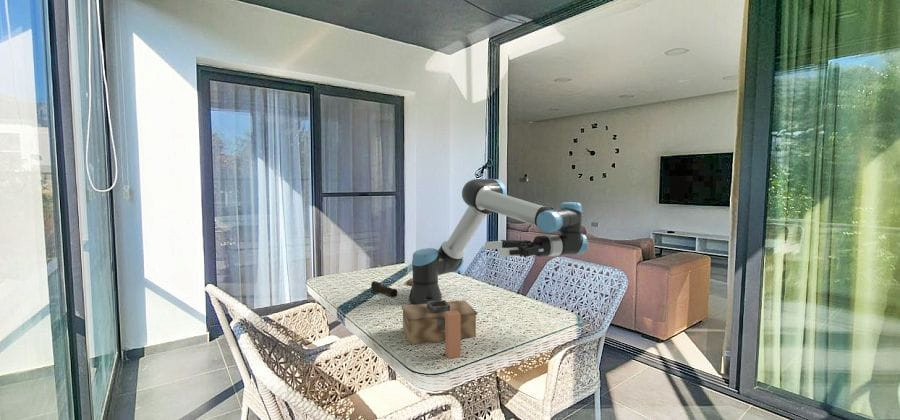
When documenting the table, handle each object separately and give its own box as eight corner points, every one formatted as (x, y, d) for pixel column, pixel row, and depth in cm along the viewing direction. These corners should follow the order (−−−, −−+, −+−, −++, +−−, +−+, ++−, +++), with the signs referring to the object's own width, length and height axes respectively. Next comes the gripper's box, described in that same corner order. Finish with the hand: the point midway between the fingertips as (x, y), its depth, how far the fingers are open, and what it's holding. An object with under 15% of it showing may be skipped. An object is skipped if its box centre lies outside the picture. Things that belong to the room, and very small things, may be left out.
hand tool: (398, 296, 195) (398, 287, 195) (391, 298, 192) (391, 288, 192) (376, 288, 209) (376, 279, 209) (369, 290, 206) (369, 281, 206)
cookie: (409, 287, 210) (409, 282, 210) (404, 282, 220) (404, 277, 220) (427, 285, 214) (427, 280, 213) (422, 280, 224) (422, 275, 223)
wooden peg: (448, 358, 129) (448, 315, 128) (445, 353, 133) (445, 311, 132) (460, 356, 130) (460, 314, 129) (457, 351, 134) (456, 310, 133)
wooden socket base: (408, 345, 139) (408, 313, 138) (401, 329, 154) (401, 300, 153) (477, 337, 146) (477, 307, 145) (464, 322, 160) (464, 295, 159)
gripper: (565, 263, 137) (506, 267, 131) (530, 249, 161) (480, 252, 155) (565, 241, 136) (506, 244, 130) (531, 231, 160) (480, 233, 154)
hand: (492, 249), depth 143 cm, fingers open, 13 cm apart
